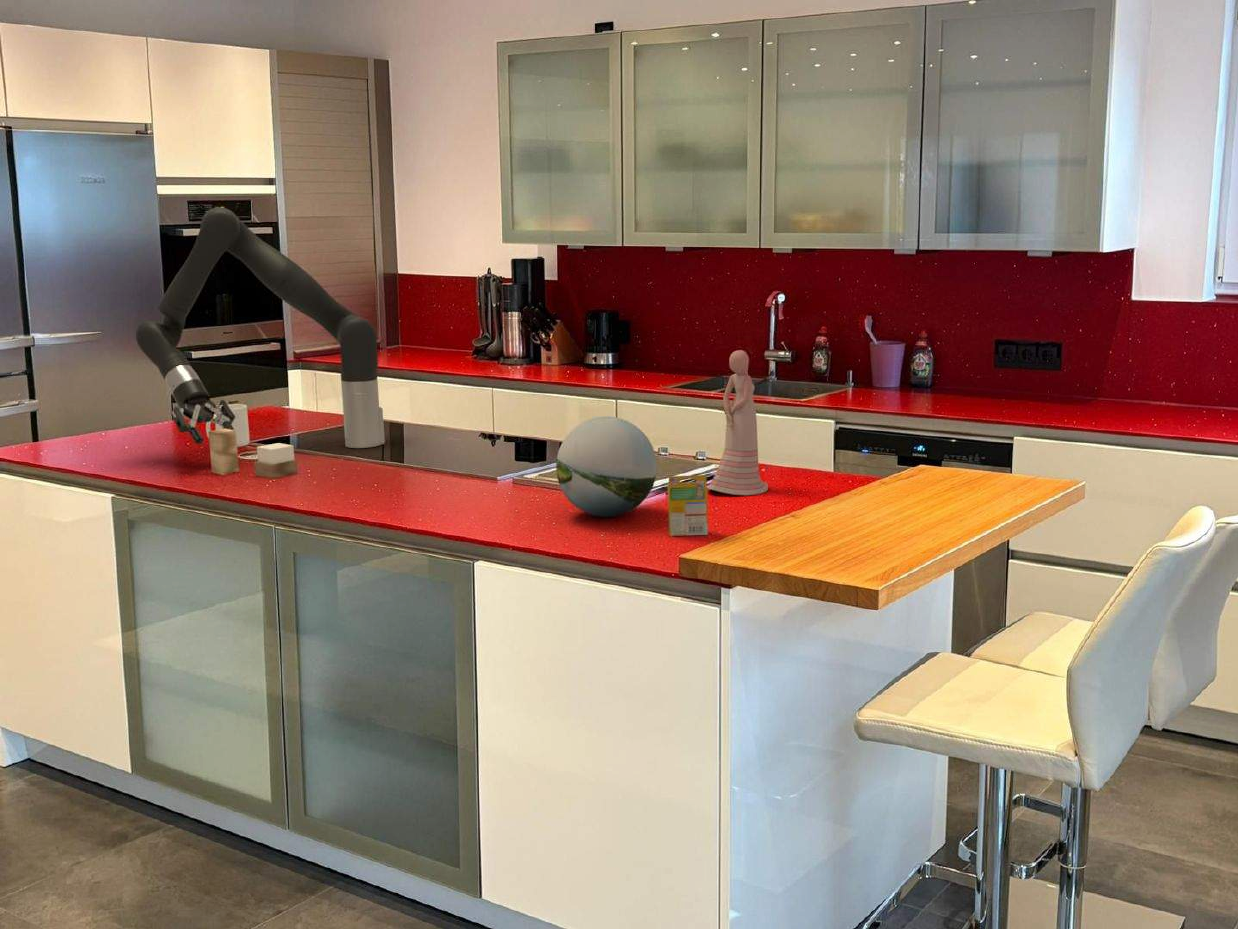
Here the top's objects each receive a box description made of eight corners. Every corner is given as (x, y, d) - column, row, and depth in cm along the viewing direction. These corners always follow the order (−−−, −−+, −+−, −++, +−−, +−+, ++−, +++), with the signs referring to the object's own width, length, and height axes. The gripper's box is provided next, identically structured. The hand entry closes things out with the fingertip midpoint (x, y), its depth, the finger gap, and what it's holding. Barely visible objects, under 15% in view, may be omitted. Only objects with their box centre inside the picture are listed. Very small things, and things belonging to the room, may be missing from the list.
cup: (256, 443, 358) (253, 405, 356) (217, 451, 349) (214, 412, 347) (237, 440, 363) (234, 403, 361) (198, 448, 354) (195, 409, 352)
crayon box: (706, 531, 257) (705, 471, 255) (708, 535, 254) (707, 475, 252) (668, 532, 257) (667, 473, 255) (669, 536, 254) (668, 476, 252)
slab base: (280, 471, 324) (279, 456, 323) (297, 474, 319) (296, 460, 319) (255, 476, 319) (254, 461, 318) (272, 480, 314) (271, 465, 313)
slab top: (279, 457, 323) (278, 442, 322) (294, 460, 319) (293, 445, 318) (257, 461, 318) (256, 446, 317) (272, 464, 314) (271, 449, 314)
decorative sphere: (650, 501, 282) (648, 406, 278) (664, 525, 263) (662, 423, 259) (554, 506, 280) (550, 411, 276) (562, 530, 260) (558, 428, 256)
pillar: (228, 469, 326) (225, 428, 324) (239, 471, 323) (235, 430, 321) (212, 472, 323) (208, 431, 321) (222, 474, 320) (219, 433, 318)
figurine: (767, 483, 296) (766, 346, 290) (770, 496, 284) (769, 354, 278) (707, 484, 297) (705, 347, 291) (707, 497, 285) (705, 355, 279)
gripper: (164, 381, 321) (195, 434, 315) (217, 374, 331) (248, 425, 326) (155, 402, 325) (185, 454, 320) (207, 394, 336) (237, 444, 330)
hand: (217, 439), depth 323 cm, fingers open, 8 cm apart
